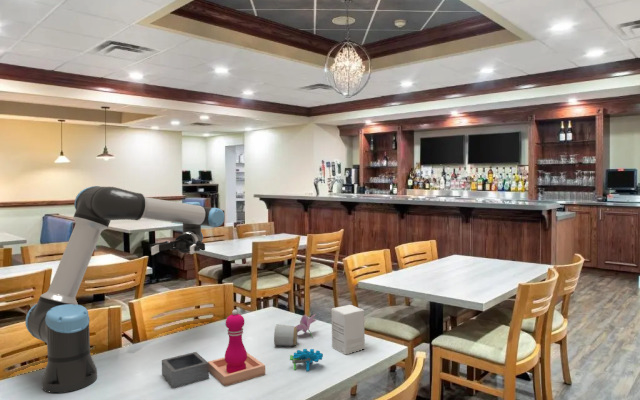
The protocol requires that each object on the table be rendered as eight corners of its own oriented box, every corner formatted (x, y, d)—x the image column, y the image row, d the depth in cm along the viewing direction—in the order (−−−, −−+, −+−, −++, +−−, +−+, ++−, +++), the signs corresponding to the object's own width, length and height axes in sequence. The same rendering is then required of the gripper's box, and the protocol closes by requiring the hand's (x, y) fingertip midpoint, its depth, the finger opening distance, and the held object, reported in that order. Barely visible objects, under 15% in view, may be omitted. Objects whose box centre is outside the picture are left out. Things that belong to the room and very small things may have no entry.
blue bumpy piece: (325, 357, 155) (319, 345, 147) (325, 375, 151) (319, 363, 143) (294, 360, 156) (286, 348, 149) (293, 378, 152) (285, 366, 145)
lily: (321, 333, 186) (312, 312, 188) (327, 331, 175) (317, 308, 177) (295, 346, 182) (285, 324, 184) (300, 345, 171) (289, 321, 174)
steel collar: (172, 388, 137) (172, 372, 137) (162, 375, 146) (161, 359, 146) (208, 378, 144) (208, 362, 143) (196, 366, 153) (195, 351, 153)
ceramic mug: (295, 348, 167) (295, 328, 167) (273, 348, 168) (273, 328, 168) (299, 339, 178) (298, 319, 178) (278, 338, 178) (278, 319, 178)
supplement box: (350, 342, 173) (350, 303, 172) (365, 349, 165) (365, 309, 165) (331, 347, 168) (330, 307, 167) (345, 355, 161) (344, 314, 160)
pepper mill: (251, 368, 149) (250, 308, 148) (236, 376, 143) (235, 314, 142) (235, 363, 153) (234, 305, 152) (220, 371, 147) (218, 310, 146)
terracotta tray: (224, 386, 138) (224, 376, 138) (207, 370, 149) (207, 361, 149) (265, 374, 146) (265, 365, 146) (246, 360, 157) (246, 351, 157)
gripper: (217, 250, 183) (207, 260, 162) (155, 252, 182) (136, 261, 161) (217, 232, 183) (206, 239, 161) (154, 233, 181) (135, 240, 160)
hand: (171, 250), depth 161 cm, fingers open, 13 cm apart
